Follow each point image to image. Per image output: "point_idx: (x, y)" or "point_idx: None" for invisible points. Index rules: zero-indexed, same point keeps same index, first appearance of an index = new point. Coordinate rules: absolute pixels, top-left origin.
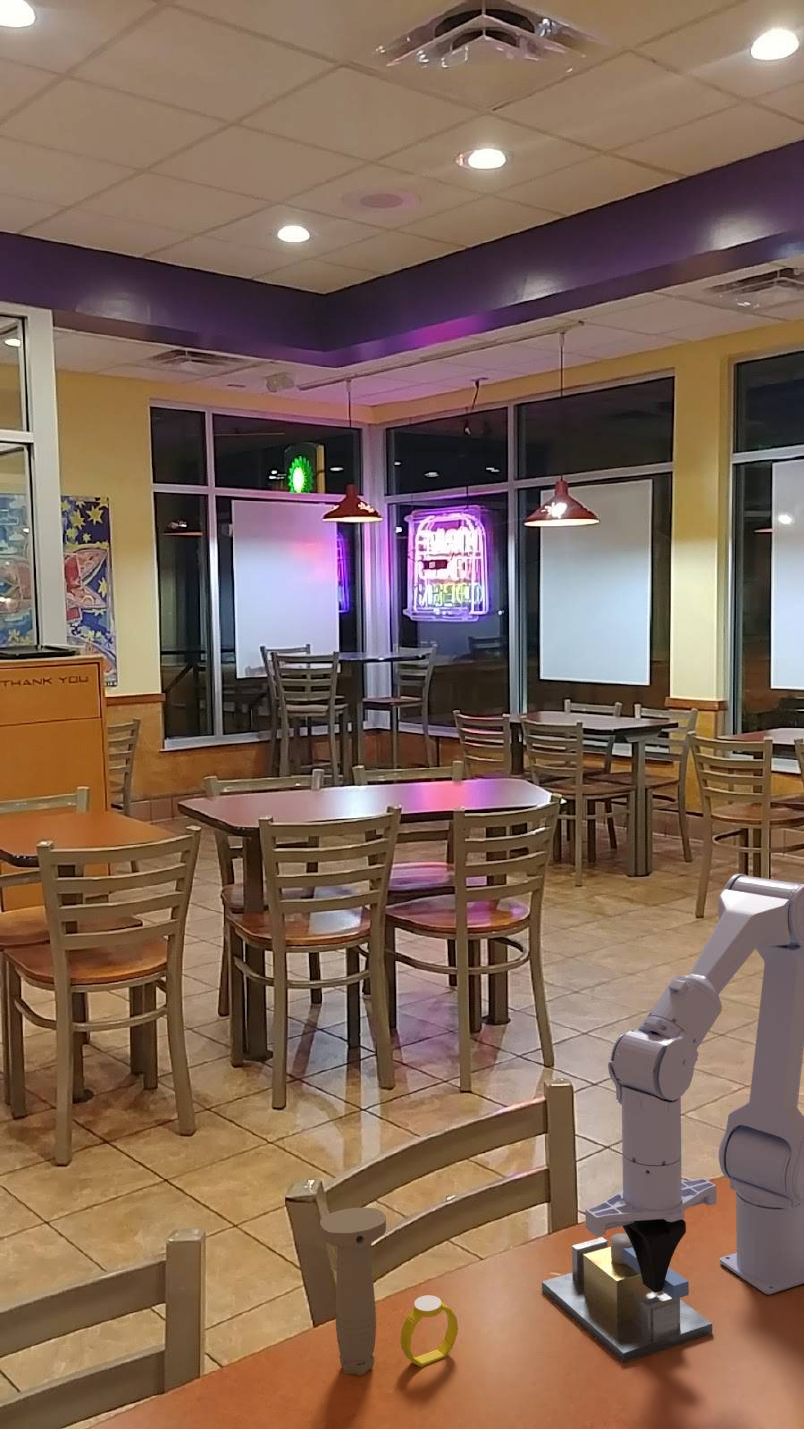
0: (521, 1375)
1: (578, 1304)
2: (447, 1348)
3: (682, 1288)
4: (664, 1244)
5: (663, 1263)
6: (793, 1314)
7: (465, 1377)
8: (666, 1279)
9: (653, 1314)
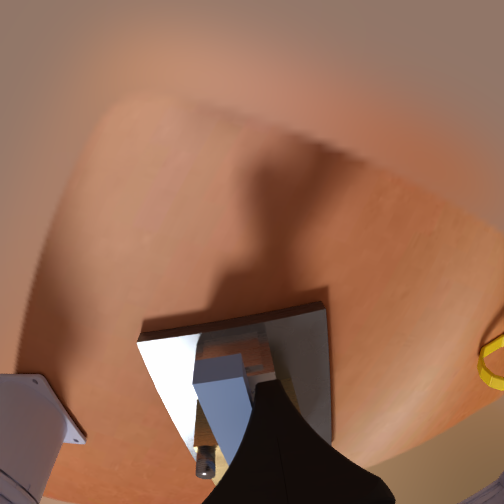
0: (449, 304)
1: (318, 418)
2: (483, 354)
3: (213, 371)
4: (292, 479)
5: (272, 431)
6: (21, 330)
7: (488, 311)
8: (246, 402)
9: (260, 358)
